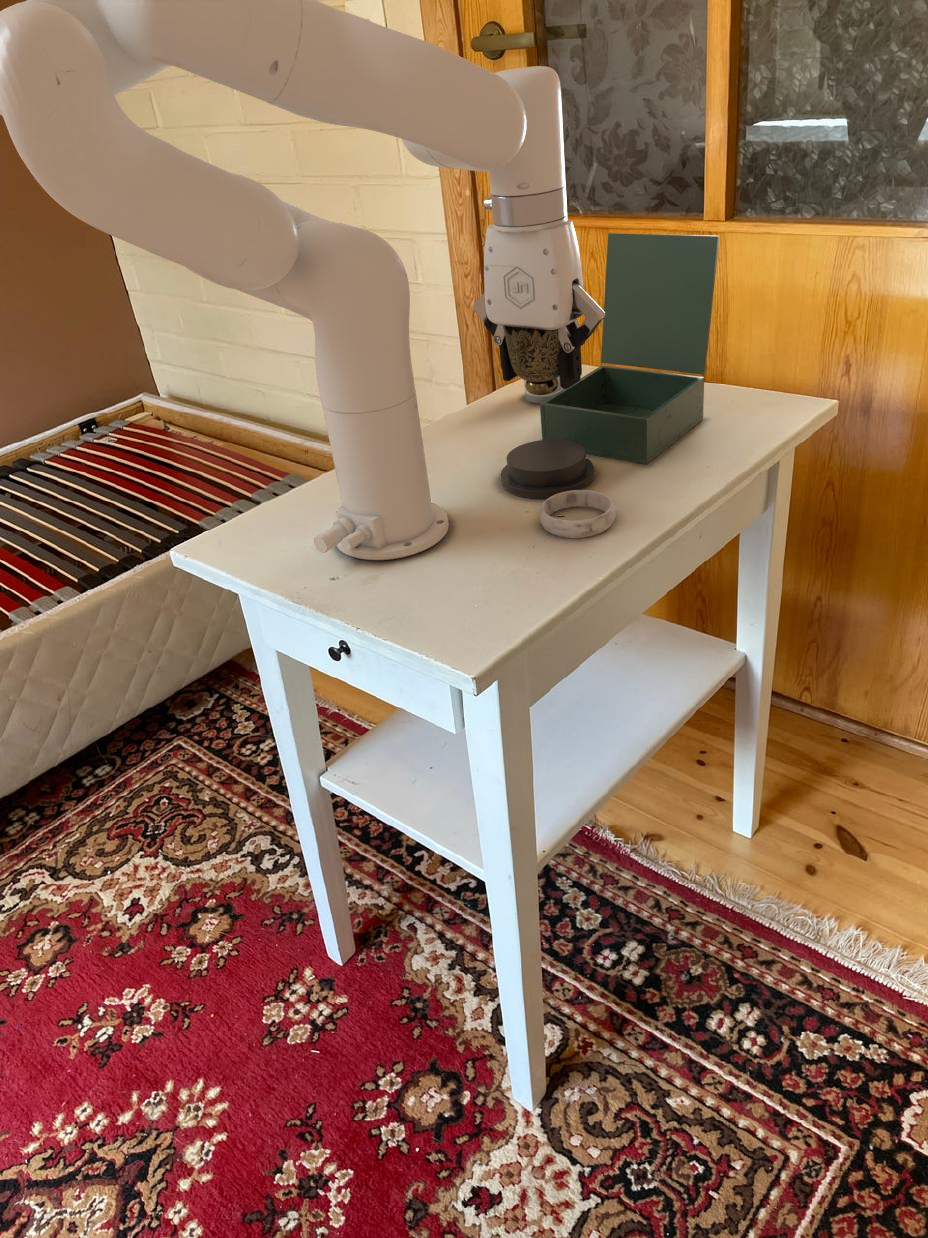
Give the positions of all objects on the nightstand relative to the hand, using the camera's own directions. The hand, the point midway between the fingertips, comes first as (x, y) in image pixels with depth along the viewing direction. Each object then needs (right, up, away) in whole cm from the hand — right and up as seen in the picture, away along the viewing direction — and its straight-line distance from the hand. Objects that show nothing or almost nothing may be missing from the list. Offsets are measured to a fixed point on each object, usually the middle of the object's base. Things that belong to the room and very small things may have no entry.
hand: (541, 379), depth 104 cm
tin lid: (+15, +13, +13) cm, 24 cm away
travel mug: (+3, +5, +29) cm, 30 cm away
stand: (+1, -10, +6) cm, 12 cm away
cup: (0, -1, +1) cm, 2 cm away
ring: (+4, -16, -4) cm, 17 cm away
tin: (+12, -3, +15) cm, 20 cm away
